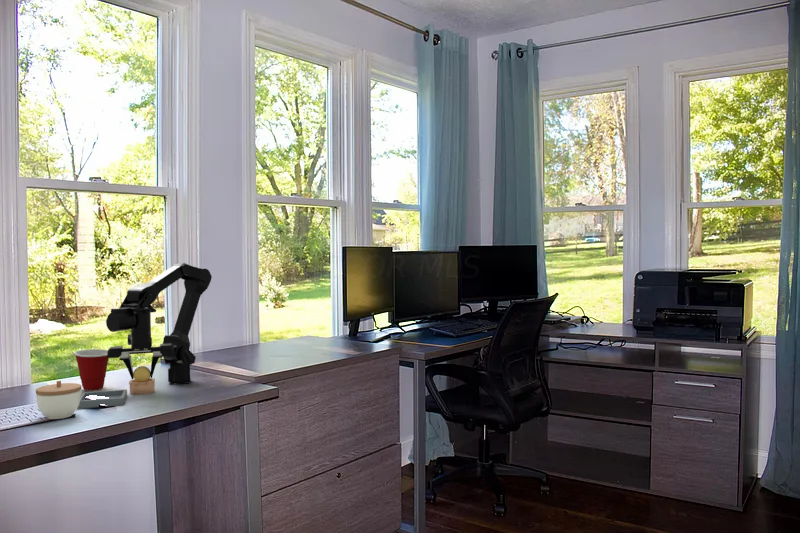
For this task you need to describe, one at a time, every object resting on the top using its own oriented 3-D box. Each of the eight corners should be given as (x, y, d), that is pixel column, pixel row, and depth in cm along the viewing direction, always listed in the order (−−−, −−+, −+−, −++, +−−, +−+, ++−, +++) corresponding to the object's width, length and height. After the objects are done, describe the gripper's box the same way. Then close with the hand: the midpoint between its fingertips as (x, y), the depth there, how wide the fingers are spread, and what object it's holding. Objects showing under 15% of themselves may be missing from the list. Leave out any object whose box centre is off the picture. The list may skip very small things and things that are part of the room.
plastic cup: (94, 393, 197) (93, 354, 197) (66, 391, 200) (65, 353, 200) (120, 386, 207) (119, 349, 207) (93, 384, 210) (92, 347, 210)
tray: (127, 395, 193) (127, 389, 193) (123, 405, 182) (123, 398, 181) (83, 399, 189) (83, 392, 189) (76, 408, 178) (76, 401, 178)
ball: (151, 380, 201) (150, 364, 201) (150, 383, 196) (150, 367, 196) (134, 381, 199) (133, 365, 199) (132, 384, 195) (132, 368, 195)
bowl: (155, 388, 203) (155, 377, 202) (154, 393, 196) (154, 381, 196) (130, 390, 200) (130, 379, 200) (128, 395, 193) (128, 383, 193)
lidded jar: (51, 423, 163) (49, 386, 163) (28, 418, 168) (27, 382, 168) (90, 414, 172) (89, 379, 172) (67, 409, 178) (66, 375, 177)
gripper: (173, 323, 208) (174, 371, 208) (110, 326, 202) (112, 375, 203) (172, 327, 197) (173, 378, 198) (106, 330, 192) (107, 382, 192)
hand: (142, 378), depth 198 cm, fingers closed on ball, 5 cm apart
